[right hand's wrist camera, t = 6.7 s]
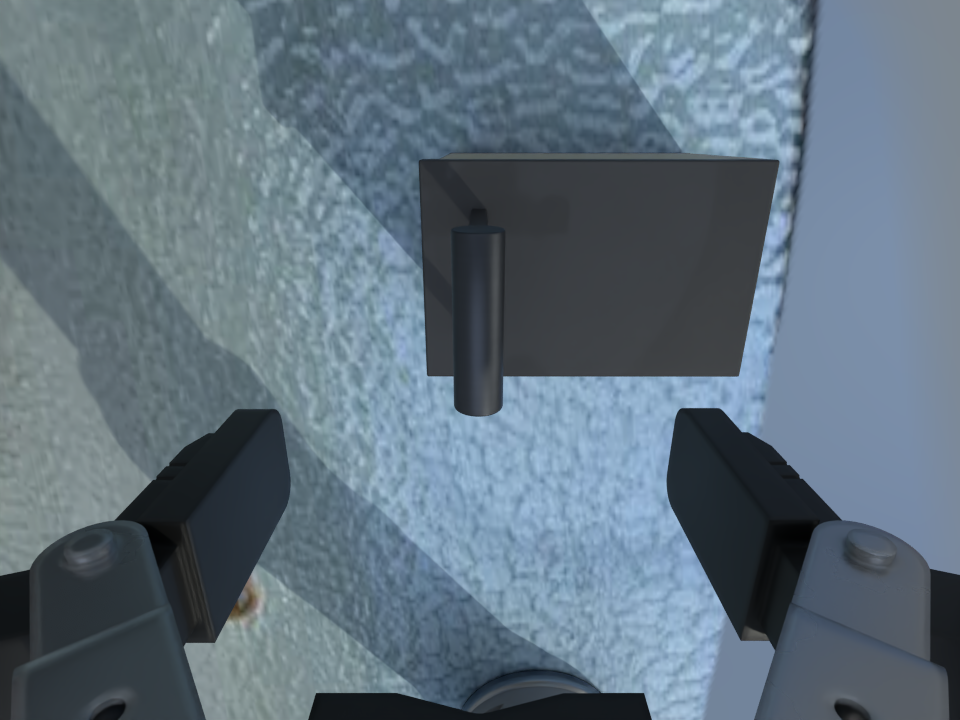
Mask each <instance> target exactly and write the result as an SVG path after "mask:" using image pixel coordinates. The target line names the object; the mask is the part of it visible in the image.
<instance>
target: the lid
mask: <svg viewBox="0 0 960 720" xmlns="http://www.w3.org/2000/svg"><path fill="white" fill-rule="evenodd" d="M778 167H779V160H771V159H422V160H420V161H419V181H420V206H421V232H422V258H423V284H424V309H425V335H426V361H427V375H428V376H454V406H455V409H456V410H457V411H458V412H460V413H462V414H465V415H468V416H488V415H492V414H495V413H497V412H498V411H500V410H501V408H502V406H503V376H739V372H740V367H741V362H742V356H743V351H744V346H745V341H746V335H747V330H748V325H749V320H750V314H751V309H752V304H753V299H754V293H755V288H756V283H757V278H758V272H759V267H760V262H761V256H762V251H763V246H764V241H765V235H766V230H767V225H768V220H769V214H770V209H771V204H772V199H773V193H774V188H775V183H776V178H777V172H778Z"/></svg>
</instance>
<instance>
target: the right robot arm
mask: <svg viewBox="0 0 960 720" xmlns="http://www.w3.org/2000/svg"><path fill="white" fill-rule="evenodd" d="M667 493H668V498H669V502H670V505H671V507H672V509H673V511H674V513H675V515H676V517H677V519H678V521H679V523H680V524H681V526H682V528H683V530H684V532H685V534H686V536H687V538H688V540H689V542H690V544H691V546H692V548H693V549H694V551H695V553H696V555H697V557H698V559H699V561H700V563H701V565H702V567H703V569H704V571H705V573H706V575H707V576H708V578H709V580H710V582H711V584H712V586H713V588H714V590H715V592H716V594H717V596H718V598H719V600H720V601H721V603H722V605H723V607H724V609H725V611H726V613H727V615H728V617H729V619H730V621H731V623H732V625H733V626H734V628H735V630H736V632H737V634H738V636H739V638H740V640H741V641H770V642H771V644H772V646H773V648H774V649H775V654H774V657H773V660H772V663H771V667H770V670H769V673H768V676H767V680H766V683H765V686H764V689H763V693H762V696H761V699H760V702H759V706H758V709H757V712H756V716H755V719H754V720H960V575H957V574H952V573H947V572H942V571H937V570H933V569H930V568H929V566H928V564H927V562H926V561H925V559H924V558H923V557H922V556H921V555H920V554H919V553H918V552H917V551H916V550H915V549H914V548H913V547H911V546H910V545H909V544H907V543H906V542H904V541H903V540H901V539H899V538H898V537H896V536H894V535H892V534H890V533H888V532H886V531H883V530H881V529H878V528H875V527H873V526H869V525H866V524H862V523H858V522H852V521H842V520H841V519H840V518H839V517H838V516H837V515H836V514H835V512H834V511H833V510H832V509H831V508H830V507H829V506H828V505H827V504H826V503H825V502H824V501H823V500H822V499H821V498H820V497H819V496H818V494H817V493H816V492H815V491H814V490H813V489H812V488H811V487H810V486H809V485H808V484H807V483H806V482H805V481H804V480H803V479H800V478H799V474H798V473H797V472H796V471H795V470H794V469H793V468H792V467H791V466H790V465H787V462H786V461H785V460H784V459H783V458H782V456H781V455H780V454H779V453H778V452H777V451H776V450H775V449H774V448H773V447H772V446H771V445H769V444H767V443H765V442H764V441H762V440H760V439H759V438H757V437H755V436H753V435H752V434H750V433H748V432H741V431H740V430H739V428H738V427H737V426H736V425H735V424H734V423H733V422H732V421H731V420H730V418H729V417H728V416H727V415H726V414H725V413H724V412H723V411H722V410H721V409H719V408H682V409H680V410H679V411H678V413H677V415H676V418H675V424H674V431H673V438H672V444H671V451H670V458H669V465H668V471H667ZM289 495H290V471H289V465H288V458H287V451H286V445H285V438H284V432H283V425H282V419H281V416H280V414H279V412H278V411H277V410H276V409H237V410H235V411H234V412H233V413H232V414H231V415H230V417H229V418H228V419H227V420H226V421H225V422H224V423H223V424H222V425H221V427H220V428H219V429H218V430H217V431H216V432H215V433H208V434H207V435H205V436H203V437H201V438H200V439H198V440H196V441H194V442H193V443H191V444H189V445H188V446H186V447H184V448H183V449H182V450H181V452H180V453H179V454H178V455H177V456H176V457H175V458H174V459H173V460H172V461H171V462H170V463H169V466H166V467H165V468H164V469H163V470H162V471H161V472H160V473H159V475H158V476H157V479H156V480H153V481H152V482H151V483H150V484H149V485H148V486H147V487H146V488H145V489H144V490H143V491H142V492H141V493H140V494H139V495H138V496H137V498H136V499H135V500H134V501H133V502H132V503H131V504H130V505H129V506H128V507H127V508H126V509H125V510H124V511H123V512H122V513H121V514H120V515H119V516H118V517H117V518H116V519H115V521H108V522H102V523H98V524H94V525H91V526H87V527H84V528H82V529H79V530H77V531H74V532H72V533H70V534H68V535H66V536H64V537H62V538H61V539H59V540H57V541H56V542H54V543H53V544H51V545H50V546H49V547H47V548H46V549H45V550H44V551H43V552H42V553H41V554H40V555H39V556H38V557H37V558H36V559H35V561H34V562H33V564H32V566H31V568H30V570H26V571H22V572H17V573H12V574H7V575H2V576H0V720H206V719H205V715H204V712H203V709H202V706H201V702H200V699H199V696H198V693H197V689H196V686H195V683H194V680H193V676H192V673H191V670H190V667H189V663H188V660H187V657H186V654H185V650H184V645H185V643H215V641H216V640H217V638H218V636H219V634H220V632H221V630H222V628H223V626H224V624H225V622H226V621H227V619H228V617H229V615H230V613H231V611H232V609H233V607H234V605H235V603H236V602H237V600H238V598H239V596H240V594H241V592H242V590H243V588H244V586H245V584H246V583H247V581H248V579H249V577H250V575H251V573H252V571H253V569H254V567H255V565H256V564H257V562H258V560H259V558H260V556H261V554H262V552H263V550H264V548H265V546H266V544H267V543H268V541H269V539H270V537H271V535H272V533H273V531H274V529H275V527H276V525H277V524H278V522H279V520H280V518H281V516H282V514H283V512H284V510H285V508H286V506H287V503H288V500H289ZM308 720H652V719H651V716H650V712H649V709H648V705H647V702H646V699H645V695H644V693H562V694H558V695H554V696H550V697H546V698H543V699H539V700H535V701H531V702H527V703H523V704H520V705H516V706H512V707H508V708H504V709H500V710H496V711H493V712H488V713H472V712H467V711H464V710H460V709H456V708H452V707H448V706H444V705H440V704H437V703H433V702H429V701H425V700H421V699H417V698H414V697H410V696H406V695H402V694H398V693H316V695H315V699H314V702H313V705H312V709H311V712H310V716H309V719H308Z"/></svg>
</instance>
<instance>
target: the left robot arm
mask: <svg viewBox="0 0 960 720" xmlns="http://www.w3.org/2000/svg"><path fill="white" fill-rule="evenodd" d="M562 693H600V692H599V691H598V690H596V689H595V688H594V687H593V686H591V685H590V684H588V683H586V682H585V681H583V680H581V679H578V678H576V677H573V676H570V675H567V674H563V673H558V672H552V671H525V672H518V673H513V674H509V675H506V676H503V677H500V678H498V679H495V680H493V681H491V682H489V683H487V684H485V685H484V686H482V687H481V688H480V689H478V690H477V691H476V692H475V693H474V694H473V695H471V697H470V698H469V699H468V700H467V701H466V703H465V704H464V706H463V708H462V710H464V711H467V712H472V713H488V712H493V711H496V710H500V709H504V708H508V707H512V706H516V705H520V704H523V703H527V702H531V701H535V700H539V699H543V698H546V697H550V696H554V695H558V694H562Z"/></svg>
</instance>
